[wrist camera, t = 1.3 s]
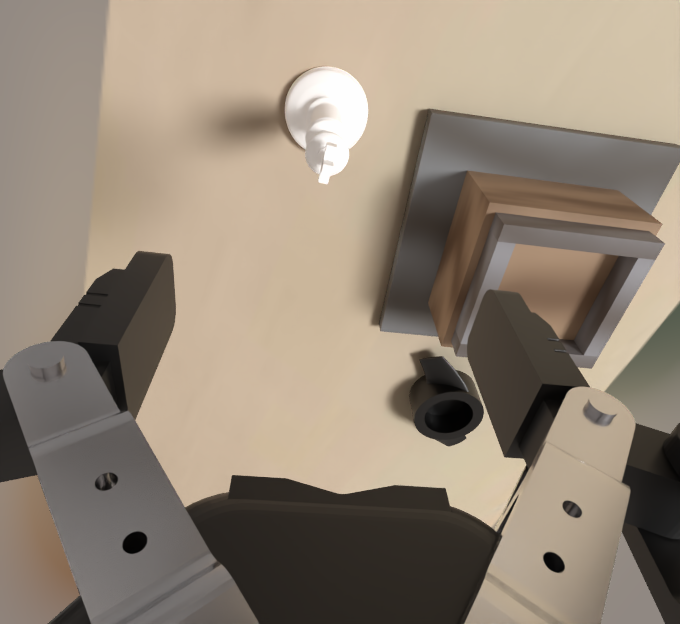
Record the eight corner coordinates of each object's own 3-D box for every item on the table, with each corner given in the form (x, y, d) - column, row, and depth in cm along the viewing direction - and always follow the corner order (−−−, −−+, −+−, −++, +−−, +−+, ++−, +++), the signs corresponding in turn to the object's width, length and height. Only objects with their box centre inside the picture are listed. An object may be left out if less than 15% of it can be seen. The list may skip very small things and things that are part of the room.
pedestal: (429, 108, 29) (457, 147, 23) (677, 144, 30) (765, 189, 24) (379, 323, 38) (389, 391, 32) (571, 341, 40) (617, 410, 33)
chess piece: (278, 143, 30) (260, 210, 22) (293, 55, 27) (280, 94, 19) (355, 162, 30) (367, 233, 22) (378, 78, 28) (400, 125, 20)
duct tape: (382, 422, 45) (385, 447, 43) (421, 340, 39) (428, 364, 37) (458, 435, 46) (466, 460, 44) (507, 358, 41) (518, 382, 38)
